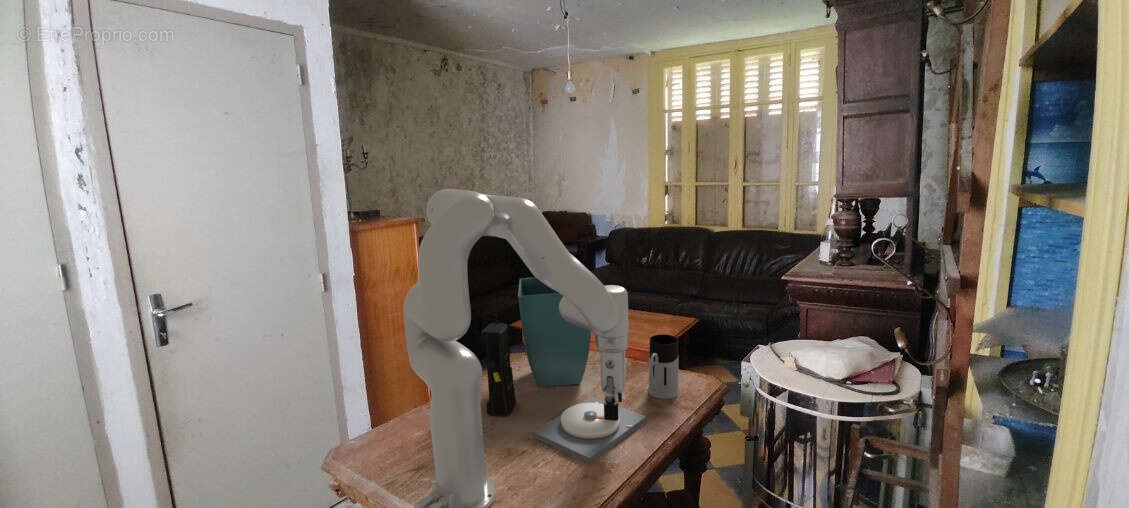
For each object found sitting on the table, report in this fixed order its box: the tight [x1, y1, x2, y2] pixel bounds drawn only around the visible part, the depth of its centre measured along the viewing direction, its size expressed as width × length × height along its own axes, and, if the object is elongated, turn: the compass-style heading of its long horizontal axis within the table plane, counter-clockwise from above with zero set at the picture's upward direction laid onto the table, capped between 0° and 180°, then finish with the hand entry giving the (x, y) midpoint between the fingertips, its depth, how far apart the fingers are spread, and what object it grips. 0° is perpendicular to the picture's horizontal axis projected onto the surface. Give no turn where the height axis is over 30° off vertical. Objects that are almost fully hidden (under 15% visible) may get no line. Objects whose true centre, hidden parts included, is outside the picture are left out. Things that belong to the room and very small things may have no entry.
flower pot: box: [517, 277, 592, 387], centre depth 152 cm, size 20×20×28 cm
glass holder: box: [647, 333, 681, 400], centre depth 139 cm, size 9×14×15 cm, turn 151°
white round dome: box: [561, 389, 620, 439], centre depth 124 cm, size 14×14×8 cm
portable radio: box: [480, 314, 517, 417], centre depth 133 cm, size 8×6×25 cm
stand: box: [532, 396, 647, 465], centre depth 125 cm, size 22×17×2 cm
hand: (613, 409), depth 123 cm, fingers open, 7 cm apart
